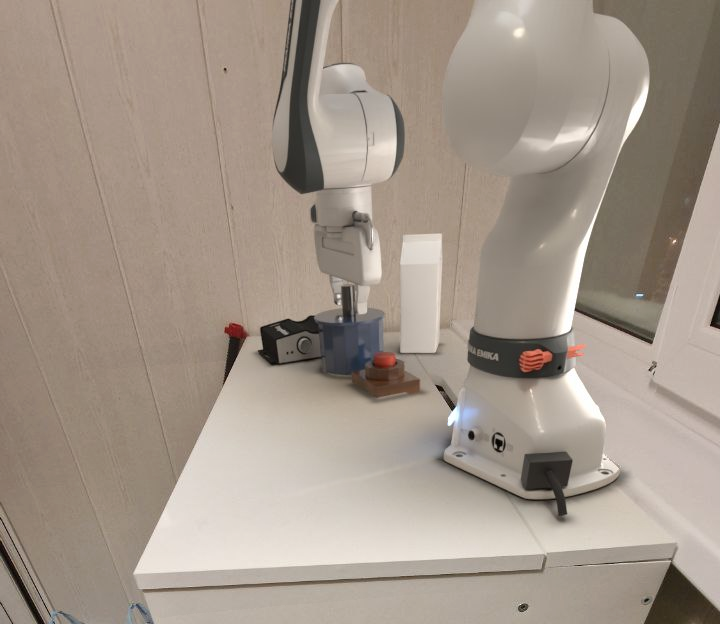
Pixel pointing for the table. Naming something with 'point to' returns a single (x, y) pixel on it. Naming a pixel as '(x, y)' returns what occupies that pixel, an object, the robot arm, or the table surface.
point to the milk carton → (420, 293)
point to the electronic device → (291, 341)
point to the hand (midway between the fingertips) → (350, 308)
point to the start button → (384, 359)
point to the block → (386, 379)
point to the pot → (349, 346)
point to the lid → (348, 312)
